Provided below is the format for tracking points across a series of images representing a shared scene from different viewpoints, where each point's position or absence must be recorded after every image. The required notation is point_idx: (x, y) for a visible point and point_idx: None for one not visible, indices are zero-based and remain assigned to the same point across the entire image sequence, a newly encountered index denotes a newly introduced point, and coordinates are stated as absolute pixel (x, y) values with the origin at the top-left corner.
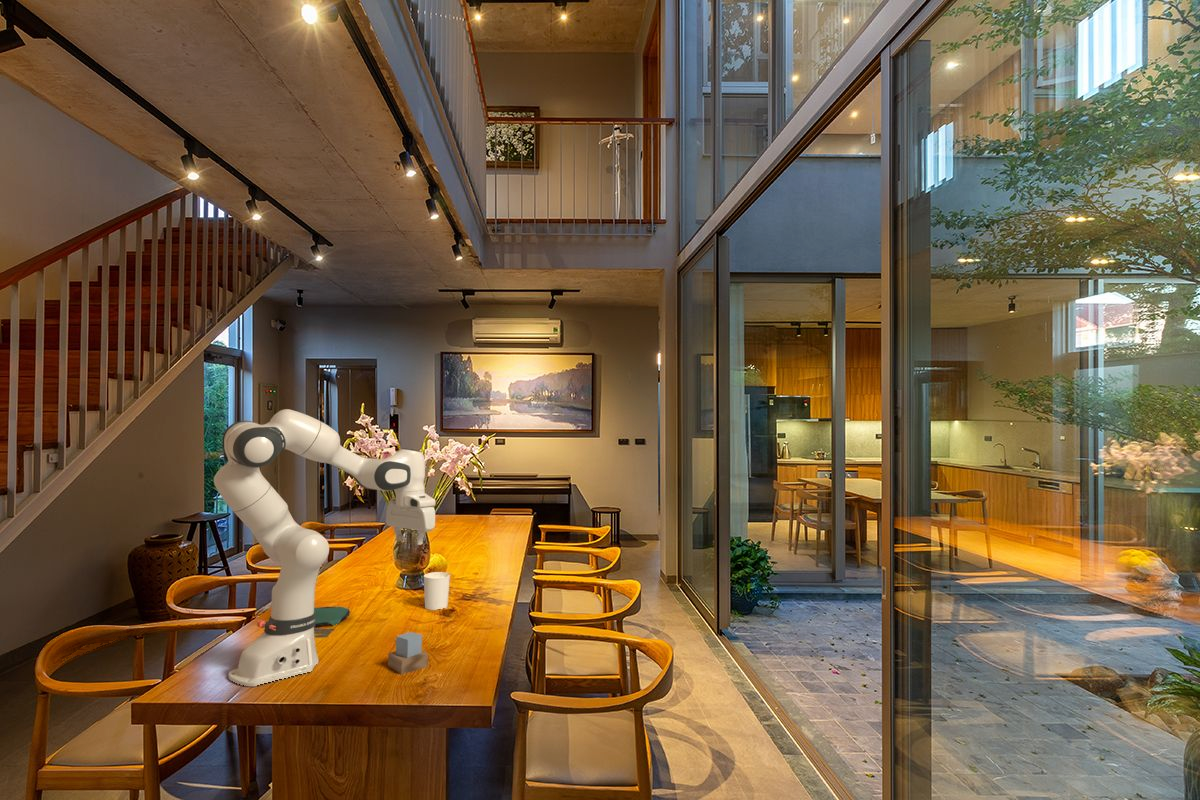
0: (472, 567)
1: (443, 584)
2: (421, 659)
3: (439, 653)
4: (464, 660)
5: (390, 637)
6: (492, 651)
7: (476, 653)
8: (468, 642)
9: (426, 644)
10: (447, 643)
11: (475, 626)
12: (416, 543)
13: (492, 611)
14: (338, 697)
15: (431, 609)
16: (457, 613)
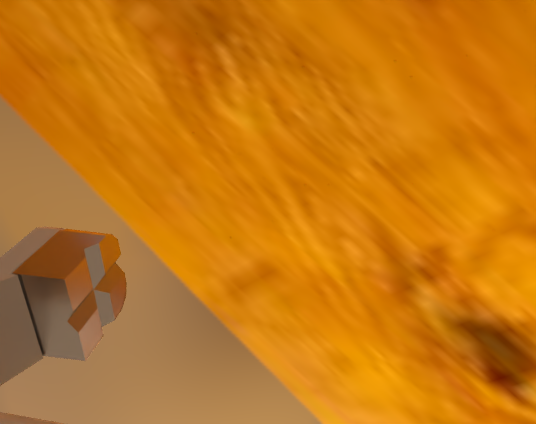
0: None
1: None
2: None
3: (157, 7)
4: (39, 13)
5: (489, 12)
6: (51, 133)
7: (69, 89)
8: (175, 154)
9: (278, 48)
10: (223, 104)
11: (287, 283)
12: (72, 232)
13: (357, 413)
14: None
15: None
16: (453, 358)
